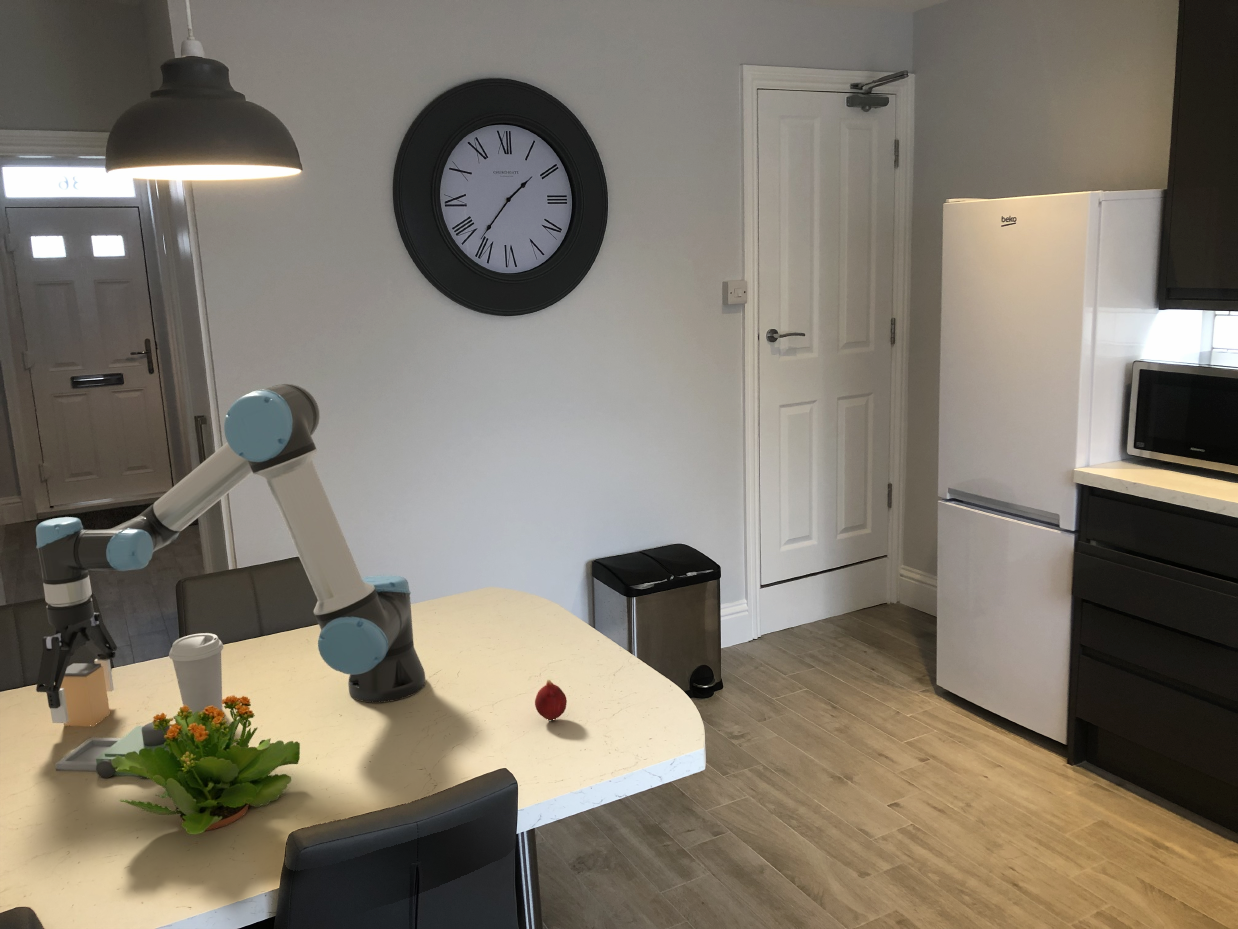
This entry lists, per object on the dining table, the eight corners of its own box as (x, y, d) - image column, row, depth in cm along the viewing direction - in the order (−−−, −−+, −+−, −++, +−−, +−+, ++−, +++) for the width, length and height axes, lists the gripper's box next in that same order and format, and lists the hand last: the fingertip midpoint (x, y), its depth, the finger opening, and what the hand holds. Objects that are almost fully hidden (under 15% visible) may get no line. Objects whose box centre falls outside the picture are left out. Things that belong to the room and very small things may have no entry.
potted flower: (265, 859, 136) (252, 746, 133) (95, 872, 135) (77, 758, 131) (307, 770, 161) (297, 673, 157) (163, 780, 159) (150, 683, 156)
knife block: (109, 714, 185) (102, 663, 183) (93, 726, 180) (85, 673, 178) (80, 714, 185) (73, 663, 183) (63, 726, 180) (55, 673, 178)
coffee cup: (211, 727, 178) (202, 651, 175) (166, 724, 180) (156, 649, 177) (241, 704, 187) (232, 632, 184) (197, 702, 189) (188, 630, 186)
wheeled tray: (199, 739, 173) (195, 708, 172) (156, 779, 160) (151, 746, 158) (98, 737, 175) (94, 707, 174) (47, 777, 161) (42, 744, 160)
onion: (572, 716, 177) (571, 676, 176) (558, 730, 172) (556, 689, 171) (545, 711, 180) (543, 672, 178) (530, 725, 175) (528, 684, 173)
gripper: (92, 579, 190) (105, 678, 195) (2, 624, 166) (19, 736, 170) (127, 579, 190) (140, 679, 194) (42, 624, 165) (59, 737, 169)
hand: (84, 706), depth 182 cm, fingers open, 13 cm apart
